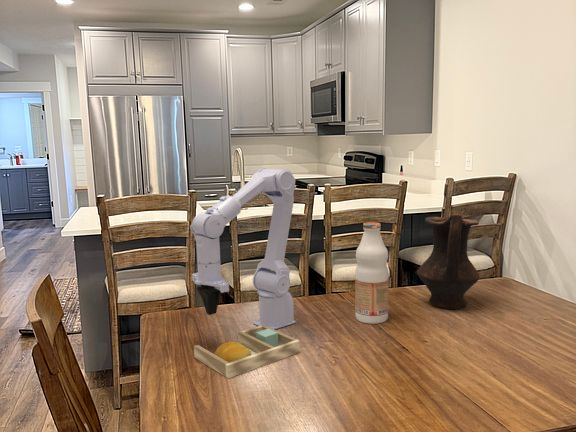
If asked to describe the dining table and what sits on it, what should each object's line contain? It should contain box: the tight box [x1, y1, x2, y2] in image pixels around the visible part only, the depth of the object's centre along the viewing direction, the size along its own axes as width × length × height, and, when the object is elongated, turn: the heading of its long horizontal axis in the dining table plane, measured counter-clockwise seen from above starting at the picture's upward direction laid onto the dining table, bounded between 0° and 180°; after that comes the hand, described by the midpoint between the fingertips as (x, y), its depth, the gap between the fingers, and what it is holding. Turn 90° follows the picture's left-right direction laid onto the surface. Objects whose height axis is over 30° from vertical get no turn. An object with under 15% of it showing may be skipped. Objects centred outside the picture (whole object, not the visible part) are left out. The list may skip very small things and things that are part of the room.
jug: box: [416, 213, 480, 310], centre depth 159 cm, size 21×18×30 cm
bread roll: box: [214, 340, 252, 363], centre depth 125 cm, size 8×9×4 cm
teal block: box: [256, 329, 279, 347], centre depth 132 cm, size 4×4×4 cm
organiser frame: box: [193, 325, 301, 379], centre depth 128 cm, size 21×15×3 cm
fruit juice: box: [354, 221, 389, 325], centre depth 149 cm, size 9×9×28 cm
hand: (211, 313), depth 132 cm, fingers closed
